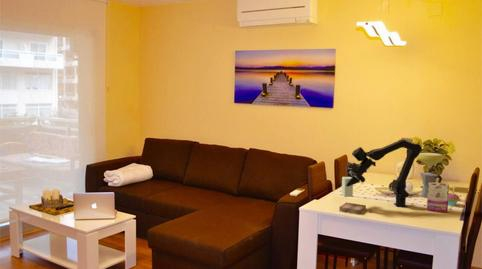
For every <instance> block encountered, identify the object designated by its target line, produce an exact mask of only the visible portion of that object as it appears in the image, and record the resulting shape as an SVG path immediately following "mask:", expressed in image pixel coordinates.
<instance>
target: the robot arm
mask: <svg viewBox="0 0 482 269" xmlns="http://www.w3.org/2000/svg"><path fill="white" fill-rule="evenodd" d="M402 148H405V149H406V157H405V159H404V162H403V164H402V167H401V170H400V172H399V174H398V177H397V178H396V179H393V180H392V183H391V184H390V186H391V187H390V188H391V191H392V192H393V194H394V195H395V202H394V203H393V205H394V206H395V207H398V208H399V207H401V208H402V207H404V208H408V205H407V202H406V201H407V200H406V199H407V198H409V195H410V193H409V192H408V191H407V190H406V189H407V188H406V187H407V179H408V177H409V174H410V171H411V169H412V167H413V164H414V162H415V160H416V159H417V156H418V155H419V154H420V152H422V150H423V149H422V146H421V145H420V144H419V143H414V142H409V141H407V140H405V139H401V138H400V139H399V140H397V141H395V142H392V143H389V144H388V145H386V146H383V147H381V148H380V147H379V148H374V149H371V150H369V151H365V150H364V149H363V148H362V147H361V146H360V147H358V148H356V149H354V150H353V151H352V152H351V153H352V154H351V156H352V157H354V158H355V159H356V160H357V162H360V163H355V162H350V161H347V163H346V165H345V167H347V168H346V169H345V172H346V177H351V180H350V181H349V182H348V183H347V185H346V186H347V187H348V186H351V185H353V186H354V185H356V184H358V183H362V184H364V183H365V182H366V178H365V177H364V176H363V174H364V173H365V174H366V173H367V172H368V170H369V169H370V168H371V167H372V166H373V167H377V165H376V161H379V160H381V159H383V158H384V157H385V156H386V155H387V154H390V153H392V152H394V151H397V150H399V149H402Z"/></svg>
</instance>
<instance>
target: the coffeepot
mask: <svg viewBox="0 0 482 269" xmlns="http://www.w3.org/2000/svg"><path fill="white" fill-rule="evenodd" d="M420 176H421V178H422V184H423V185H422V186H423V188H421V195H420V196H421V197H422V198H426V199H427V195H428V182H434V183H442V180H443V177H442V176H441V175H440V174H436V173H433V172H432V170H431V169H430V170H429V169H428V171H427V172H421V173H420ZM437 178H438V182H436V181H437Z"/></svg>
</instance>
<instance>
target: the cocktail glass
mask: <svg viewBox="0 0 482 269" xmlns="http://www.w3.org/2000/svg"><path fill="white" fill-rule="evenodd" d="M416 159H417V160H418V161H420V162H422V163H423V164H425V165H426V166H427V168H428V170H431V168H432V167H434V165H436V164H439V163H441V162H443V161H444V159H445V154H444V153H441V152H435V151H421V152H420V154H419V155H418V156H417V157H416ZM420 188H421V189H423V185H421V186H420Z"/></svg>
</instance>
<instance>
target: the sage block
mask: <svg viewBox="0 0 482 269" xmlns="http://www.w3.org/2000/svg"><path fill="white" fill-rule="evenodd" d="M350 180H351V177H347V176H342V177H341V196H342V197H343V198H352V197H353V194H354V193H353V192H354V184H353V185H351V186H348V187H347V186H346V185H347V183H348V182H349V181H350Z"/></svg>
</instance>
